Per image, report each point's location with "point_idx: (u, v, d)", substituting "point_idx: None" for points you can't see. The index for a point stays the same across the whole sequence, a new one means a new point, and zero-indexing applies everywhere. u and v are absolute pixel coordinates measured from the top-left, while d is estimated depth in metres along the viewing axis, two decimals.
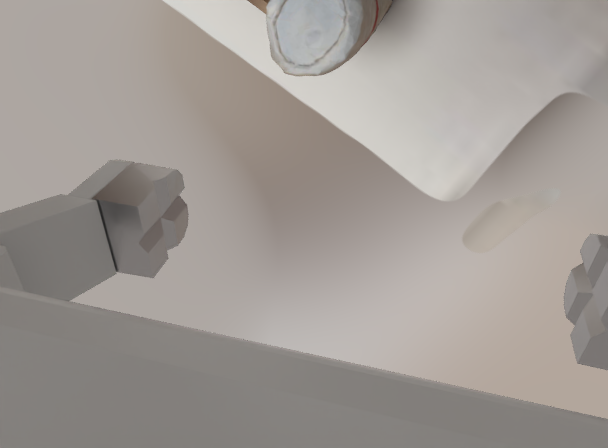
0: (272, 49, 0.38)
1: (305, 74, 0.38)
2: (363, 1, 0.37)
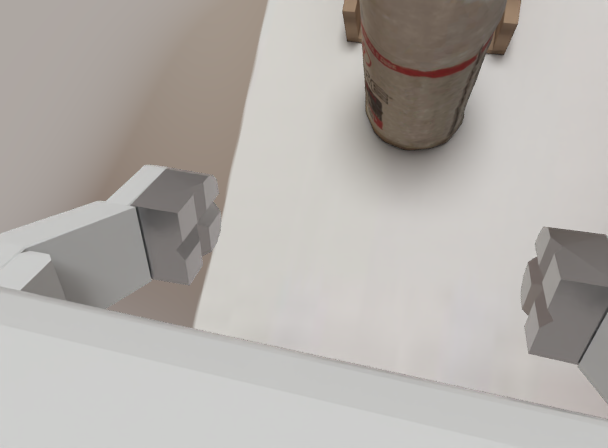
0: None
1: None
2: (499, 1, 0.23)
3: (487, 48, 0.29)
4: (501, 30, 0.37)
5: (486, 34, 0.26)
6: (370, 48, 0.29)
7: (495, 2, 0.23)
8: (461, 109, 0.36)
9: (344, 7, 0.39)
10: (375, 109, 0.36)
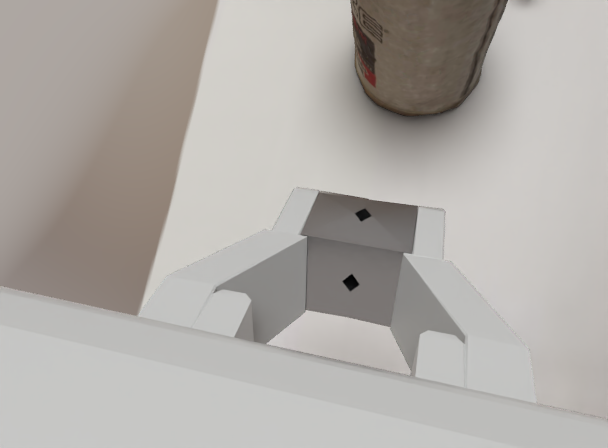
0: None
1: None
2: None
3: None
4: None
5: None
6: None
7: None
8: (481, 56, 0.27)
9: None
10: (366, 56, 0.27)
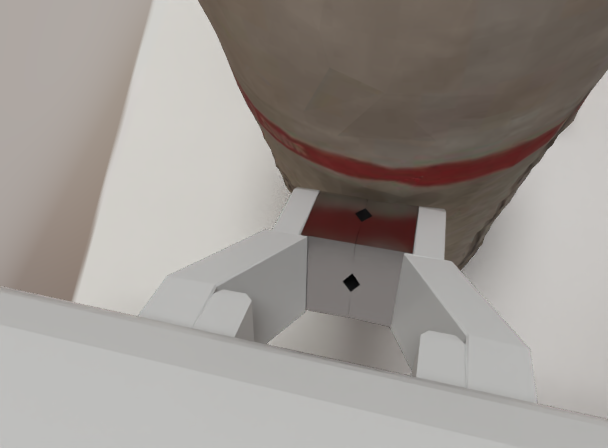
0: None
1: None
2: None
3: None
4: None
5: None
6: (241, 90, 0.10)
7: None
8: (486, 229, 0.17)
9: None
10: None
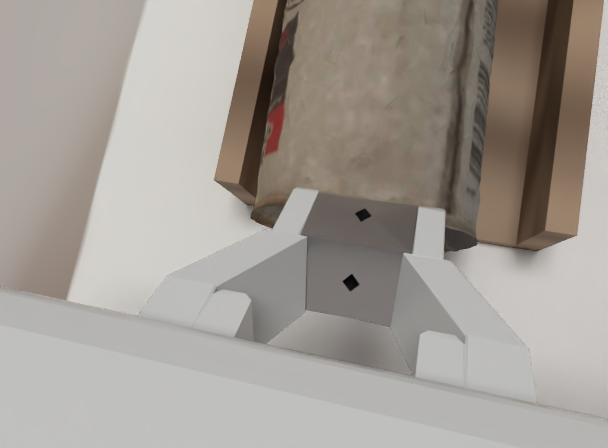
0: None
1: None
2: None
3: None
4: (538, 235, 0.18)
5: None
6: None
7: None
8: (468, 102, 0.15)
9: (218, 172, 0.19)
10: (279, 77, 0.17)
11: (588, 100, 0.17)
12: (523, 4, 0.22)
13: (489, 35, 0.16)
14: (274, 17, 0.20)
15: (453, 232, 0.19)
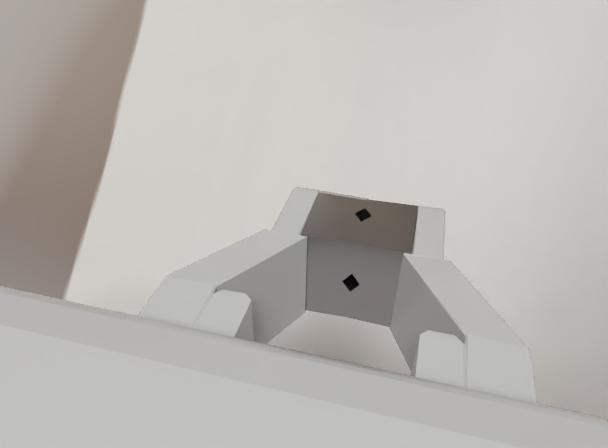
0: None
1: None
2: None
3: None
4: None
5: None
6: None
7: None
8: None
9: None
10: None
11: None
12: None
13: None
14: None
15: None
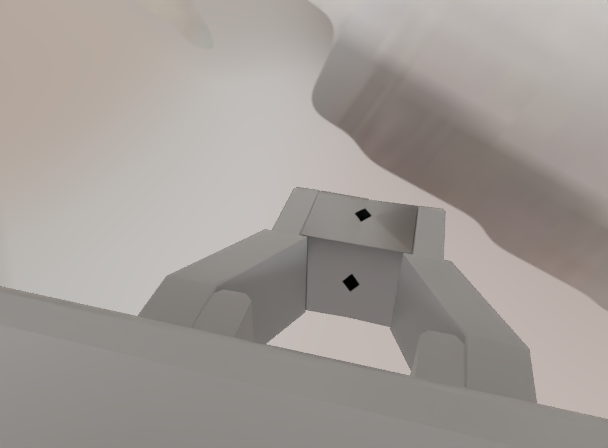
0: None
1: None
2: None
3: None
4: None
5: None
6: None
7: None
8: None
9: None
10: None
11: None
12: None
13: None
14: None
15: None
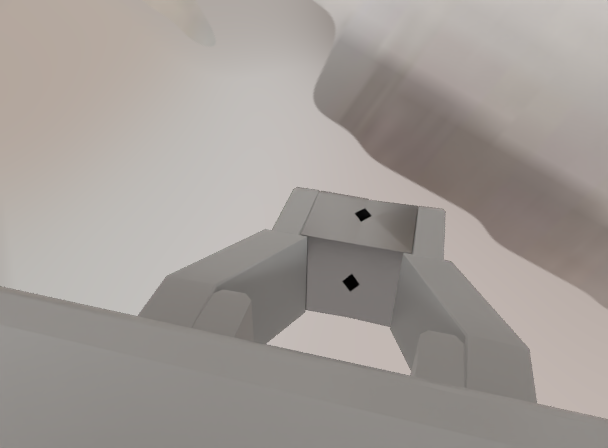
0: None
1: None
2: None
3: None
4: None
5: None
6: None
7: None
8: None
9: None
10: None
11: None
12: None
13: None
14: None
15: None
